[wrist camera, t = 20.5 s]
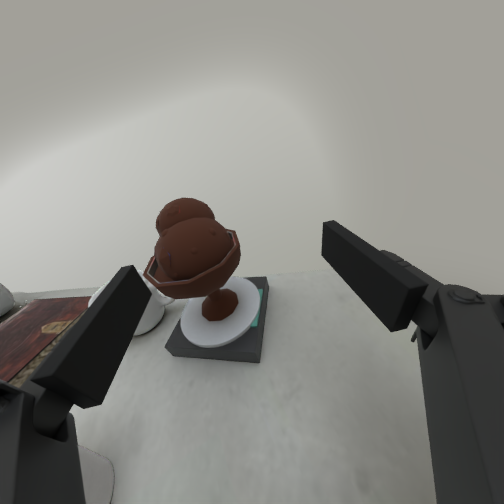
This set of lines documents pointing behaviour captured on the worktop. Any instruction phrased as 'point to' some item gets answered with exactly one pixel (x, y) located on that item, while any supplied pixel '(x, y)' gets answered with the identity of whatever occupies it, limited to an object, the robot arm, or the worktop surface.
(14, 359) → the hardback book
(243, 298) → the scale
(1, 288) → the jar
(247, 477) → the worktop surface
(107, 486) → the coffee cup
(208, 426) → the worktop surface
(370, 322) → the worktop surface
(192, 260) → the ice cream bowl
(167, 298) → the cup
